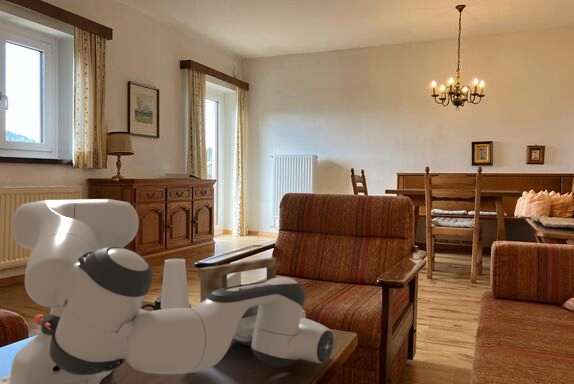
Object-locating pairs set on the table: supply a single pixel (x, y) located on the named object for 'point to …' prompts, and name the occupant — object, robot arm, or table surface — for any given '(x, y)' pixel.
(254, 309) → the doorstop
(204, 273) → the door frame
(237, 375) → the table surface
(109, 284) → the robot arm
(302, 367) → the table surface
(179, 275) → the champagne flute
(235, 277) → the door
